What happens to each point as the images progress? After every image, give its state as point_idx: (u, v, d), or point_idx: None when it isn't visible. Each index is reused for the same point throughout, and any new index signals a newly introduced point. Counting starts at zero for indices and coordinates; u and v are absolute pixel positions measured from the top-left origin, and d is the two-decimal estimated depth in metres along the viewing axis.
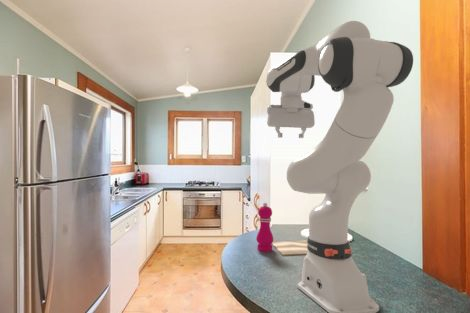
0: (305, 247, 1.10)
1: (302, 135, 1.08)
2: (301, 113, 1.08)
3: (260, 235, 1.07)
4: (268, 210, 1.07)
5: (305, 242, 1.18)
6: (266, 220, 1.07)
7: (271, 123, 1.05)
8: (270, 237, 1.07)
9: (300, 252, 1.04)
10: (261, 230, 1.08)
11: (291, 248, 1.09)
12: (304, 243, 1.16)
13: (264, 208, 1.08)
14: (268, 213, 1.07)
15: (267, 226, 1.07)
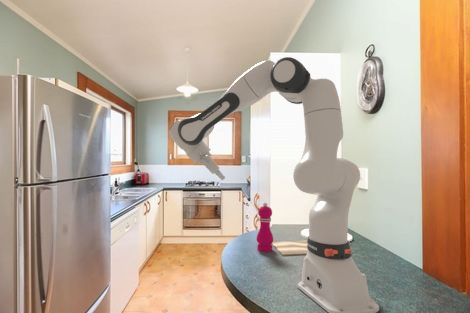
0: (305, 247, 1.10)
1: None
2: None
3: (260, 235, 1.07)
4: (268, 210, 1.07)
5: (305, 242, 1.18)
6: (266, 220, 1.07)
7: (218, 166, 0.98)
8: (270, 237, 1.07)
9: (300, 252, 1.04)
10: (261, 230, 1.08)
11: (291, 248, 1.09)
12: (304, 243, 1.16)
13: (264, 208, 1.08)
14: (268, 213, 1.07)
15: (267, 226, 1.07)
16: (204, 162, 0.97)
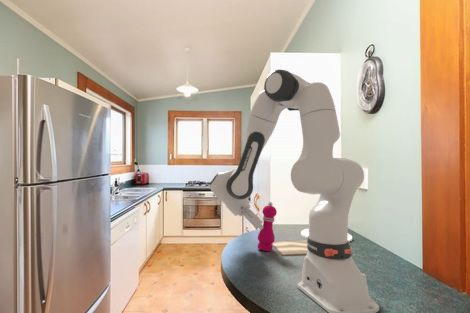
0: (305, 247, 1.10)
1: None
2: None
3: (262, 233, 1.07)
4: (273, 210, 1.07)
5: (305, 242, 1.18)
6: (270, 219, 1.07)
7: None
8: (272, 237, 1.07)
9: (300, 252, 1.04)
10: (263, 229, 1.08)
11: (291, 248, 1.09)
12: (304, 243, 1.16)
13: (269, 207, 1.08)
14: (272, 213, 1.07)
15: (270, 225, 1.08)
16: (248, 217, 0.98)
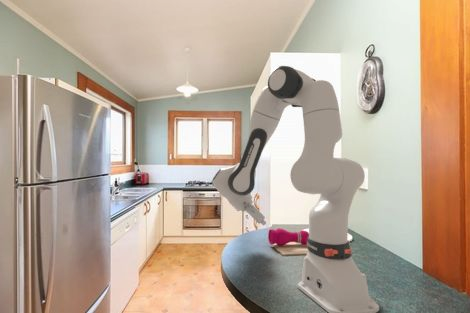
0: (305, 247, 1.10)
1: None
2: None
3: None
4: (308, 235, 1.13)
5: None
6: (299, 234, 1.13)
7: (263, 216, 1.00)
8: (285, 236, 1.11)
9: (300, 252, 1.04)
10: None
11: (291, 248, 1.09)
12: None
13: (308, 233, 1.15)
14: (306, 234, 1.13)
15: (293, 235, 1.13)
16: (250, 212, 0.99)
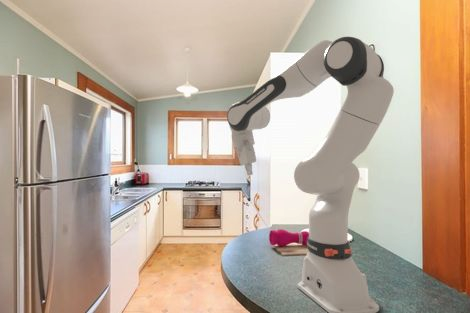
0: (305, 247, 1.10)
1: None
2: None
3: (287, 231, 1.12)
4: None
5: None
6: (301, 237, 1.12)
7: None
8: (286, 240, 1.09)
9: (300, 252, 1.04)
10: (290, 233, 1.12)
11: (291, 248, 1.09)
12: None
13: None
14: None
15: (295, 238, 1.11)
16: (246, 148, 0.96)
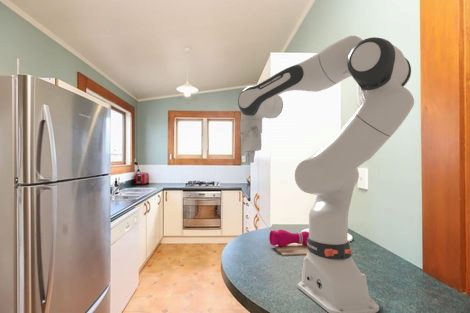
0: (305, 247, 1.10)
1: None
2: None
3: (287, 232, 1.11)
4: None
5: None
6: (301, 237, 1.11)
7: None
8: (287, 241, 1.09)
9: (300, 252, 1.04)
10: (290, 233, 1.12)
11: (291, 248, 1.09)
12: None
13: None
14: None
15: (295, 239, 1.11)
16: (254, 134, 0.93)
